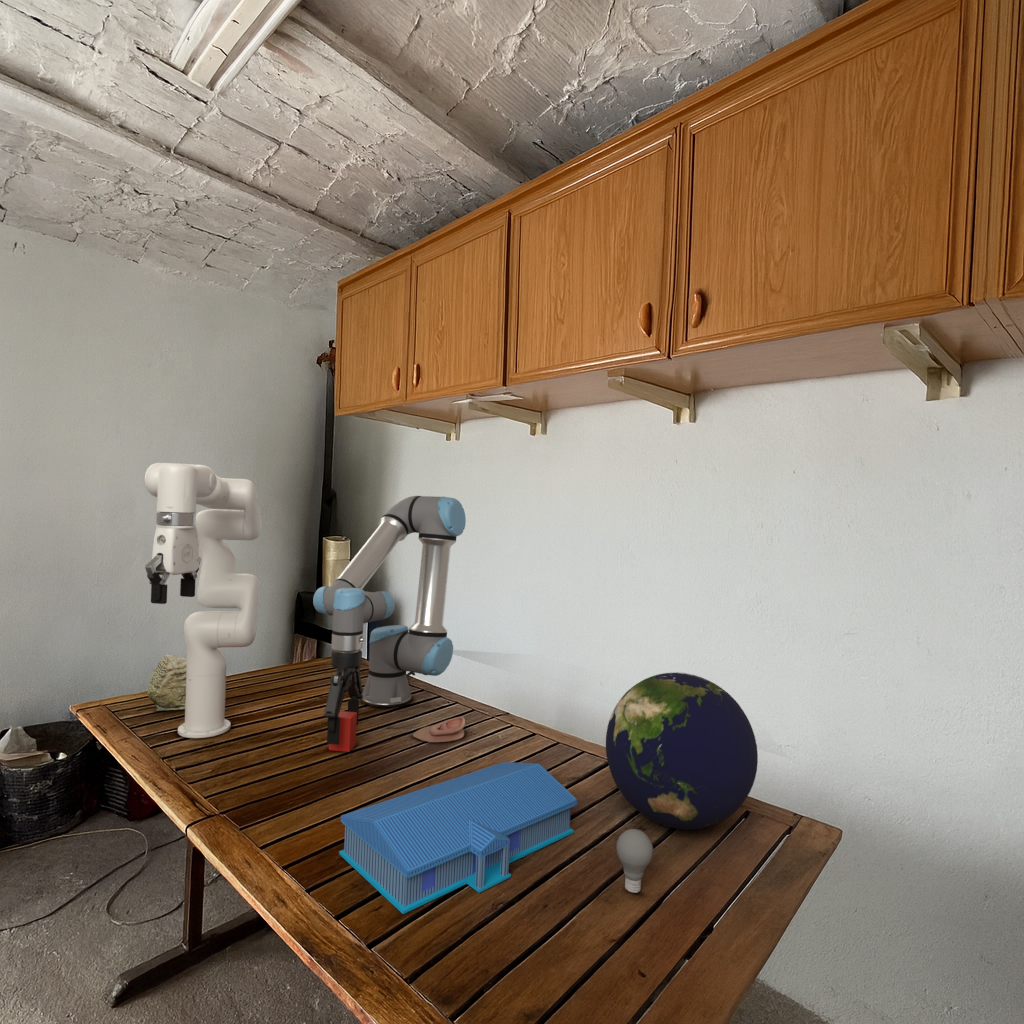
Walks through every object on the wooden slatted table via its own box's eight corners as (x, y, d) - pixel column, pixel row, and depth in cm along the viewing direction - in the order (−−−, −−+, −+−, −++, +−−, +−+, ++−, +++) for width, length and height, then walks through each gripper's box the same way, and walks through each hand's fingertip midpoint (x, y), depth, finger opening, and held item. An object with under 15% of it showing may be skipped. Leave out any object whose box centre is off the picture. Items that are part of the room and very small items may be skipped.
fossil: (144, 707, 182) (145, 655, 182) (212, 696, 194) (213, 647, 194) (151, 716, 175) (153, 662, 175) (221, 703, 188) (223, 653, 188)
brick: (328, 750, 158) (329, 716, 158) (335, 743, 163) (336, 710, 163) (349, 752, 158) (350, 718, 157) (355, 744, 162) (357, 712, 162)
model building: (414, 925, 95) (417, 859, 95) (337, 852, 113) (340, 797, 113) (586, 839, 121) (589, 787, 121) (502, 791, 139) (504, 746, 139)
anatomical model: (408, 724, 167) (423, 710, 178) (408, 739, 167) (423, 724, 178) (457, 730, 164) (469, 716, 175) (456, 745, 164) (468, 730, 175)
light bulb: (610, 879, 108) (613, 822, 108) (644, 879, 109) (647, 822, 109) (619, 902, 102) (622, 840, 102) (655, 901, 103) (658, 840, 103)
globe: (585, 837, 122) (592, 682, 121) (619, 777, 149) (625, 650, 149) (751, 879, 110) (760, 708, 110) (755, 805, 138) (762, 668, 138)
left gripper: (166, 522, 127) (163, 607, 128) (215, 520, 145) (212, 595, 145) (132, 521, 128) (129, 605, 129) (184, 518, 145) (182, 593, 146)
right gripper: (343, 663, 147) (338, 754, 147) (376, 640, 172) (373, 718, 172) (312, 660, 148) (307, 751, 148) (350, 638, 172) (346, 716, 173)
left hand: (173, 599), depth 137 cm, fingers open, 9 cm apart
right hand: (343, 734), depth 160 cm, fingers open, 13 cm apart
